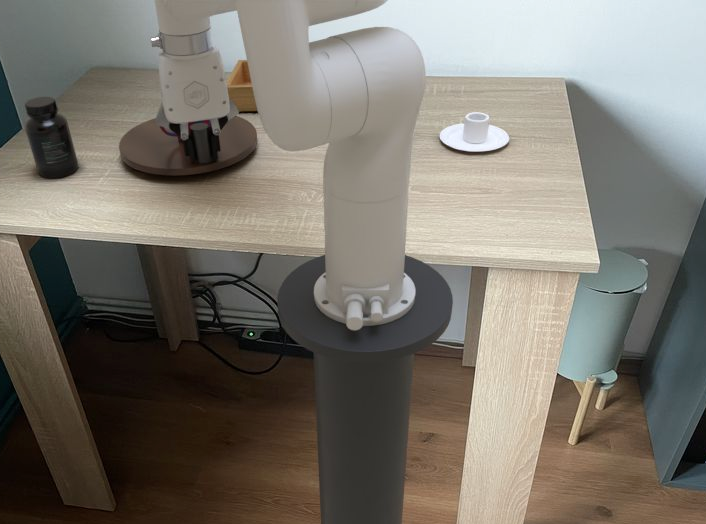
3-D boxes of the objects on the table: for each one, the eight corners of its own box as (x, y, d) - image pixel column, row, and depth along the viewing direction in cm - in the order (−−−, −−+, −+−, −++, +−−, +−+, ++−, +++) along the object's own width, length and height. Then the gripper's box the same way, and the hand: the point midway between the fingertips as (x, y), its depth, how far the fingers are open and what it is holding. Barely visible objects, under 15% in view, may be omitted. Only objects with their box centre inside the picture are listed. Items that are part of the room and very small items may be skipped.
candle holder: (461, 160, 122) (464, 136, 119) (427, 134, 131) (428, 110, 128) (522, 147, 125) (526, 122, 122) (484, 122, 134) (487, 99, 131)
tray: (227, 113, 142) (223, 84, 138) (240, 85, 153) (238, 57, 150) (384, 114, 139) (385, 84, 135) (386, 85, 150) (387, 57, 146)
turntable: (156, 189, 115) (148, 147, 110) (99, 140, 131) (90, 101, 126) (283, 148, 125) (280, 108, 120) (216, 107, 140) (212, 70, 136)
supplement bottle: (39, 164, 127) (19, 97, 120) (78, 159, 129) (61, 91, 121) (37, 181, 122) (16, 112, 115) (79, 175, 123) (61, 106, 116)
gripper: (133, 56, 104) (155, 174, 115) (245, 42, 106) (256, 159, 118) (129, 40, 109) (151, 155, 121) (236, 28, 112) (247, 141, 124)
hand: (203, 156), depth 119 cm, fingers closed on turntable, 3 cm apart
